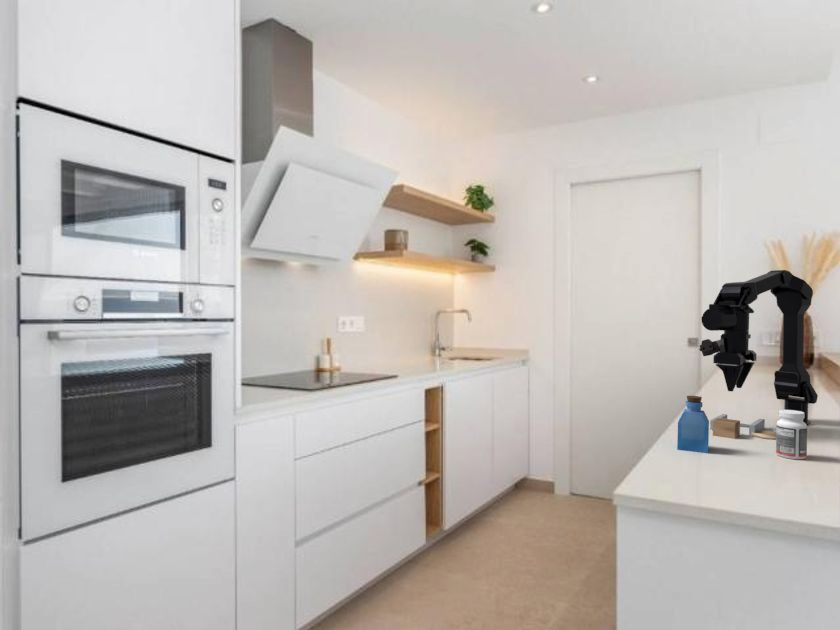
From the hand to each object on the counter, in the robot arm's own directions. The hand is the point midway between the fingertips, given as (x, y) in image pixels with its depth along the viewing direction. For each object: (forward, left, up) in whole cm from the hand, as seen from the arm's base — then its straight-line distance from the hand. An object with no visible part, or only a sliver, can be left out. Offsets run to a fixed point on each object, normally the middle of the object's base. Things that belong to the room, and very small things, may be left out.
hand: (734, 389), depth 153 cm
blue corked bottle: (+28, -2, -11) cm, 30 cm away
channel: (-4, 0, -11) cm, 12 cm away
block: (+7, 0, -11) cm, 13 cm away
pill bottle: (+20, +16, -11) cm, 28 cm away
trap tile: (-10, 0, -11) cm, 15 cm away
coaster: (0, +8, -11) cm, 14 cm away
